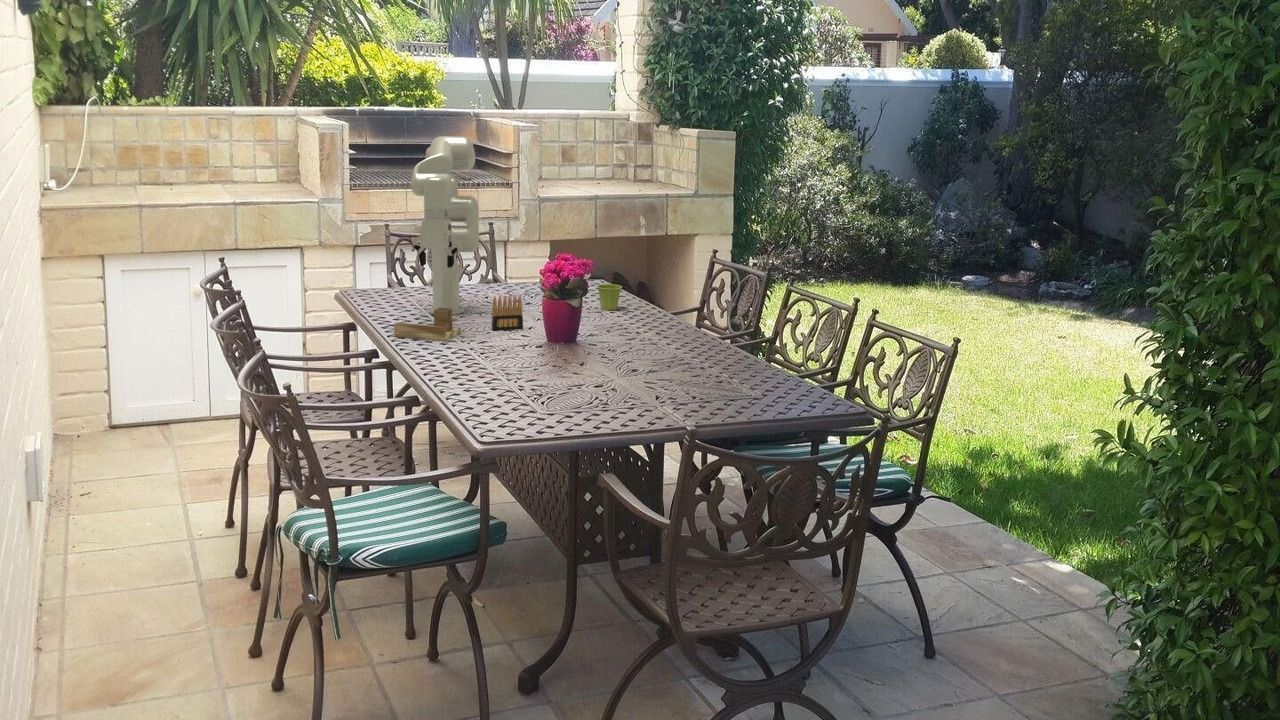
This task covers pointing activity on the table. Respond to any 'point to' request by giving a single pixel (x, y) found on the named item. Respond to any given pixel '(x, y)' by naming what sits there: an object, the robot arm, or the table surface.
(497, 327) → the ammunition clip
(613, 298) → the plant pot
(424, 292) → the table surface
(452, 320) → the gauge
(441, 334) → the board
